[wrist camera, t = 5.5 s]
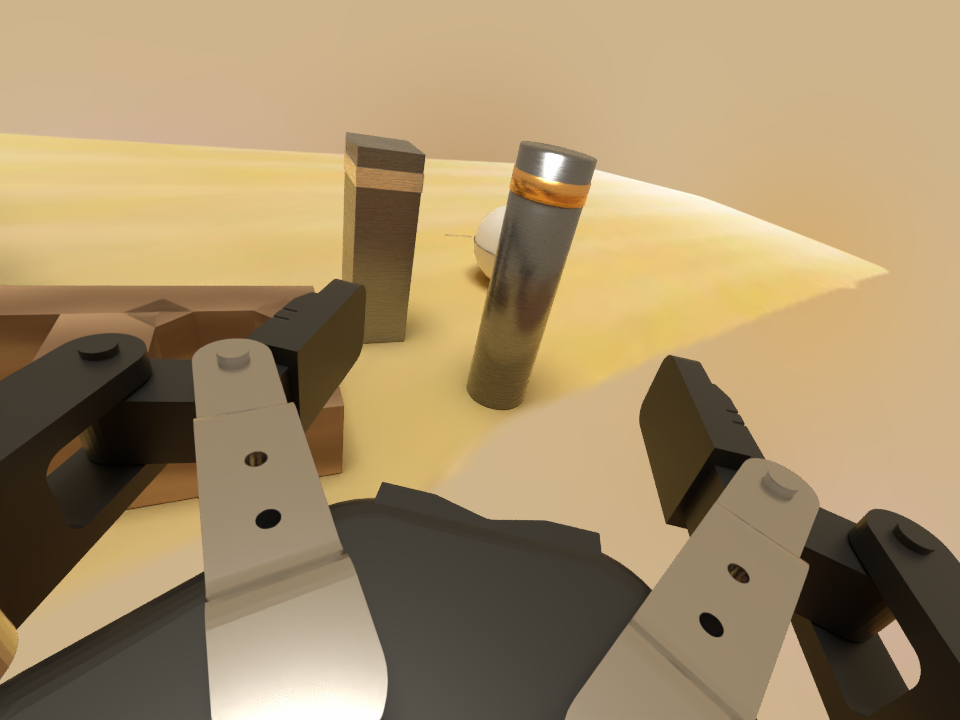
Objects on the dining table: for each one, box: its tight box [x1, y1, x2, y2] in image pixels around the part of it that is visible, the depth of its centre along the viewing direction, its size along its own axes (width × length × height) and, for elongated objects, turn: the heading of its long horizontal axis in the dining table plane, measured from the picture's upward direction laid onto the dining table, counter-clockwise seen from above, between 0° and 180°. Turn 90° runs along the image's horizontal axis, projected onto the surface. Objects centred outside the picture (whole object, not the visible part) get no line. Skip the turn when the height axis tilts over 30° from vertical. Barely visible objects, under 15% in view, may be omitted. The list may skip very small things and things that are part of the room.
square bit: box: [342, 132, 425, 343], centre depth 28 cm, size 4×4×12 cm
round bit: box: [467, 141, 597, 410], centre depth 24 cm, size 4×4×14 cm
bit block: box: [0, 286, 344, 509], centre depth 20 cm, size 11×18×4 cm, turn 112°
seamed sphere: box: [445, 205, 507, 279], centre depth 41 cm, size 10×7×7 cm
